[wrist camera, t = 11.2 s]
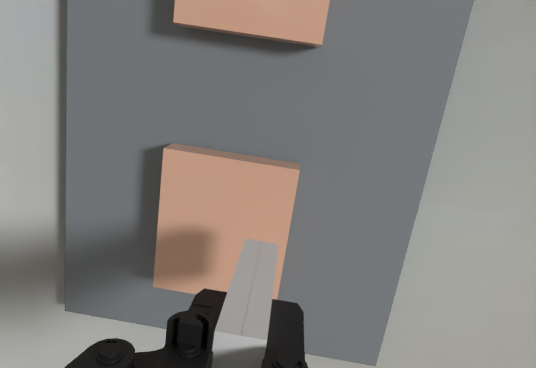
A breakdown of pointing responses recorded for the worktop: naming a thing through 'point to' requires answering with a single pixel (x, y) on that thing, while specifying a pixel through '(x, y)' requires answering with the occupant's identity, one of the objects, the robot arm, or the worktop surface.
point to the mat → (257, 150)
